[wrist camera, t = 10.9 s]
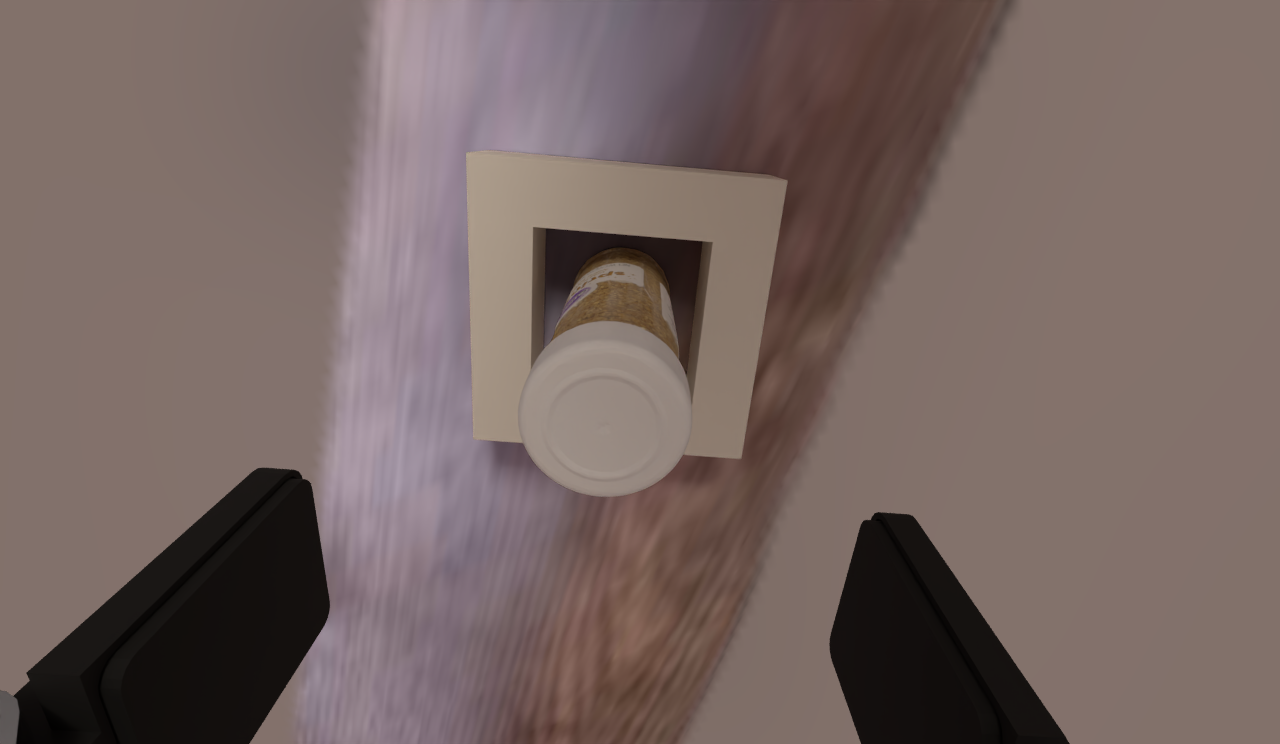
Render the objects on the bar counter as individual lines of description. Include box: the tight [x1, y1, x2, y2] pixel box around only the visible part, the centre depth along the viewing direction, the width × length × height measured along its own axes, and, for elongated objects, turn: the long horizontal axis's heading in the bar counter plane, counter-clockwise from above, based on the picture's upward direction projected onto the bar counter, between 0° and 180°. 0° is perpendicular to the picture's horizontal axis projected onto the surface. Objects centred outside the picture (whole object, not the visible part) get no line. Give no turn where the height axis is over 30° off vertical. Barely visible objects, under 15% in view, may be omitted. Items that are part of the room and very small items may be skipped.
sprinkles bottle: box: [518, 247, 692, 497], centre depth 21 cm, size 5×5×13 cm
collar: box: [466, 150, 788, 459], centre depth 26 cm, size 12×12×4 cm
